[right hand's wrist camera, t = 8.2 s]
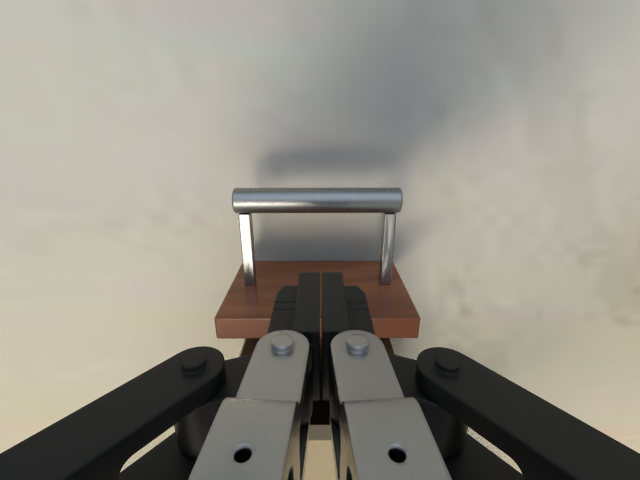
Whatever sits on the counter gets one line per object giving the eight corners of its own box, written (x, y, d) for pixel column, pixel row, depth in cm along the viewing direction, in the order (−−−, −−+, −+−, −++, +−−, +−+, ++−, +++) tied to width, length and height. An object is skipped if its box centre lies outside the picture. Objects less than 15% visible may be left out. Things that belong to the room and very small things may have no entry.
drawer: (235, 177, 21) (199, 206, 15) (399, 177, 21) (434, 205, 15) (257, 425, 28) (239, 517, 22) (379, 425, 28) (397, 517, 22)
